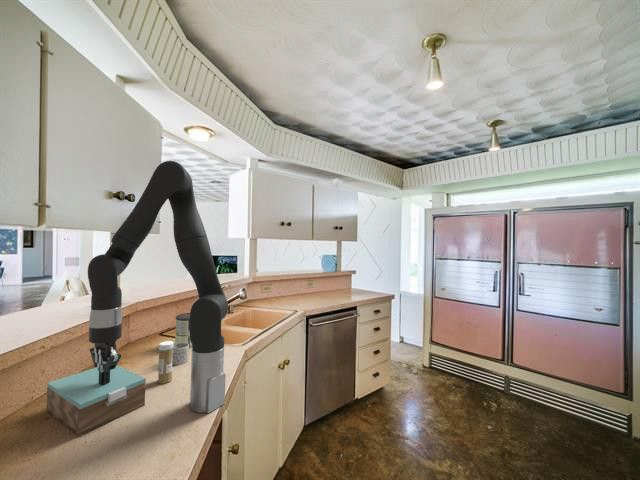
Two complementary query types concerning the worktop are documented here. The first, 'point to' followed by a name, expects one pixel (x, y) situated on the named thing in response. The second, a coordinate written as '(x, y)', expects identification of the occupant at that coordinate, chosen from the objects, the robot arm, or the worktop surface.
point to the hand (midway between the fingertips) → (104, 383)
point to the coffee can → (183, 329)
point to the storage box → (93, 410)
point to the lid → (95, 386)
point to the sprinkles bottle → (165, 362)
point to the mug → (180, 353)
